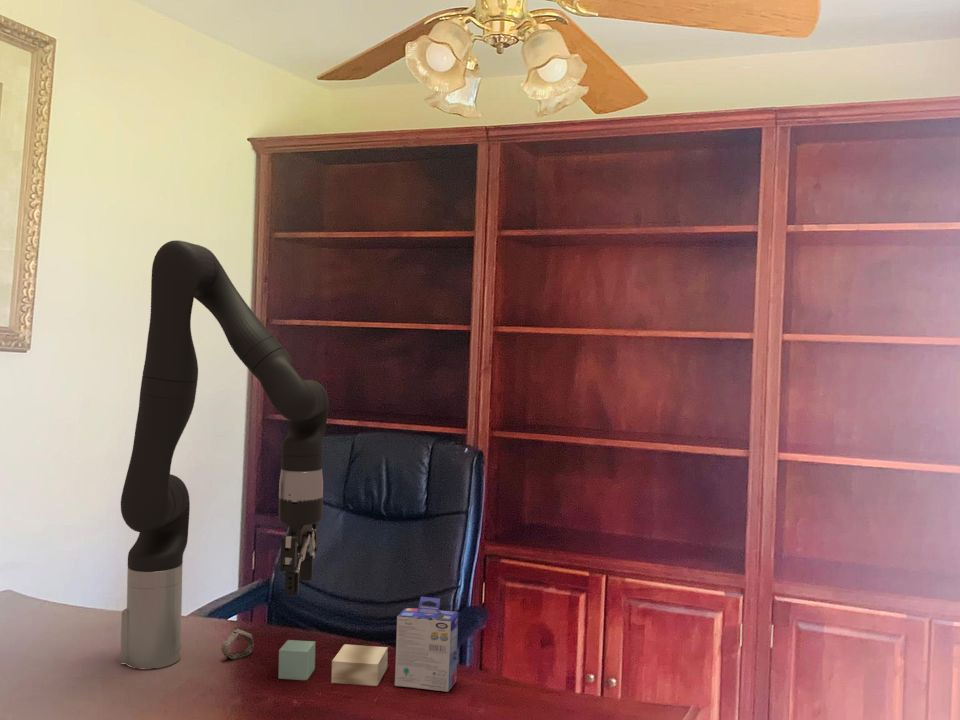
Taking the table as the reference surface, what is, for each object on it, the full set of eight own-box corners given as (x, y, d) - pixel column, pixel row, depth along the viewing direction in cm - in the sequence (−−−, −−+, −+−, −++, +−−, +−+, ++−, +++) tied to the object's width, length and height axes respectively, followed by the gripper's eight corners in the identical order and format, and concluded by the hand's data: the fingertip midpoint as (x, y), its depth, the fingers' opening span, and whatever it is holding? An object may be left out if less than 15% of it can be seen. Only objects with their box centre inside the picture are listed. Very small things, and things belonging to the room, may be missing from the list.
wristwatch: (257, 654, 152) (257, 627, 152) (229, 664, 147) (229, 636, 147) (244, 649, 154) (245, 623, 154) (217, 659, 149) (217, 632, 149)
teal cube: (278, 679, 142) (279, 650, 142) (287, 667, 147) (288, 639, 146) (306, 680, 141) (307, 651, 141) (314, 669, 146) (315, 641, 146)
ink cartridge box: (457, 680, 143) (460, 597, 143) (450, 693, 138) (452, 607, 137) (403, 674, 145) (405, 592, 145) (393, 687, 140) (396, 602, 139)
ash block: (331, 684, 141) (331, 661, 140) (343, 666, 148) (344, 644, 148) (377, 687, 140) (377, 664, 140) (387, 669, 148) (387, 647, 148)
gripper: (292, 486, 151) (290, 574, 151) (266, 501, 137) (264, 598, 137) (332, 488, 150) (330, 576, 150) (310, 503, 136) (308, 600, 136)
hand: (299, 586), depth 144 cm, fingers open, 8 cm apart
